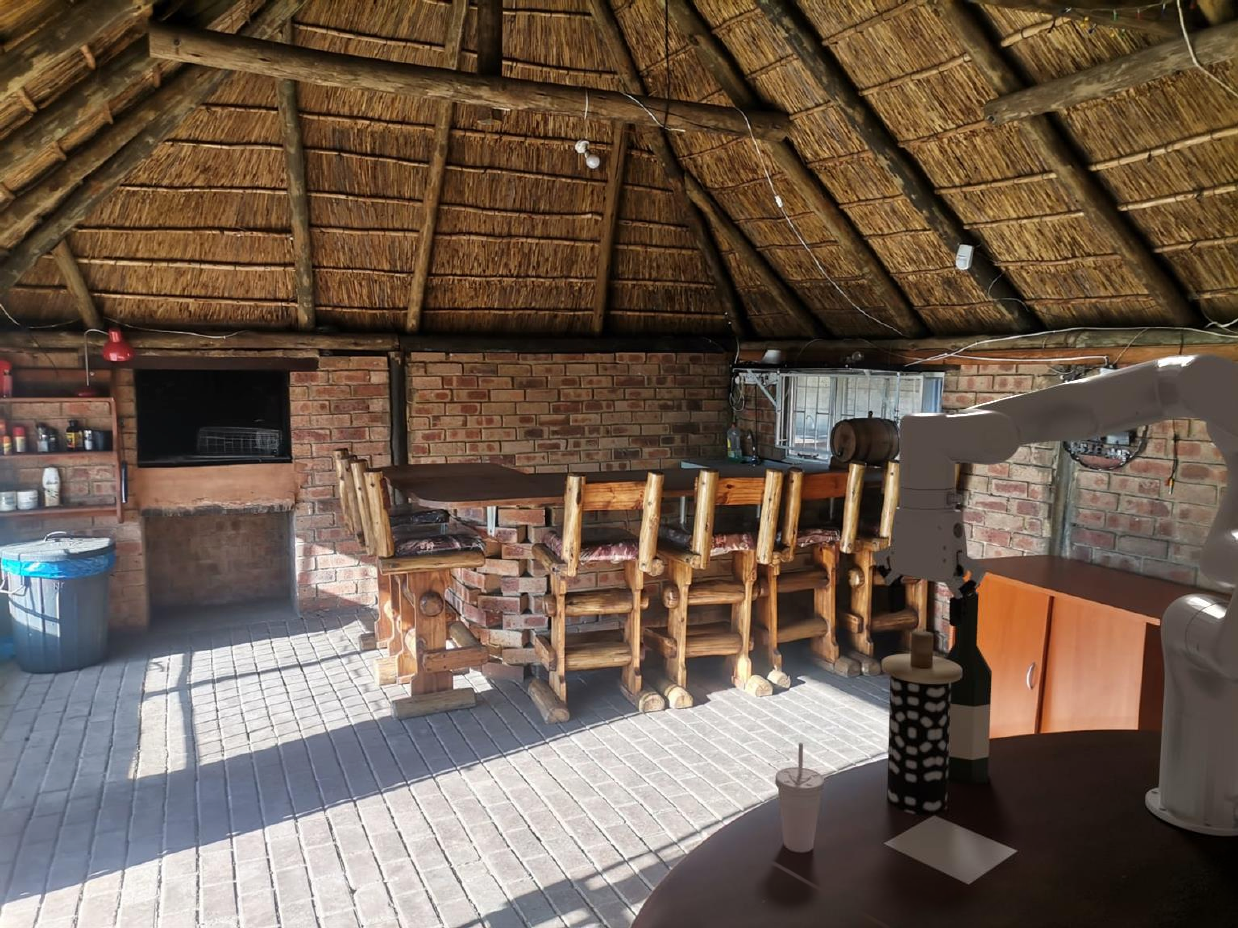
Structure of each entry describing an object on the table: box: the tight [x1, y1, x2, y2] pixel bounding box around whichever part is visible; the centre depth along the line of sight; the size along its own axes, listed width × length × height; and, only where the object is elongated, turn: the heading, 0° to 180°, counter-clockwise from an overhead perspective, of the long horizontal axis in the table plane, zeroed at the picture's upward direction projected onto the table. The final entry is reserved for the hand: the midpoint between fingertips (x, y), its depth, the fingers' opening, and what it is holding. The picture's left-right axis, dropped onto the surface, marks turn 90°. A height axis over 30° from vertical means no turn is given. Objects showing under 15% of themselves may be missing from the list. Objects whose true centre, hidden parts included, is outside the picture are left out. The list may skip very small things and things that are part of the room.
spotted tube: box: [886, 675, 951, 816], centre depth 126 cm, size 8×8×20 cm
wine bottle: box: [943, 589, 993, 785], centre depth 135 cm, size 8×8×30 cm
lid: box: [881, 630, 962, 684], centre depth 124 cm, size 11×11×6 cm
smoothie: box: [774, 742, 825, 853], centre depth 114 cm, size 6×6×14 cm
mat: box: [883, 815, 1018, 885], centre depth 114 cm, size 12×12×1 cm
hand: (926, 617), depth 124 cm, fingers open, 9 cm apart
